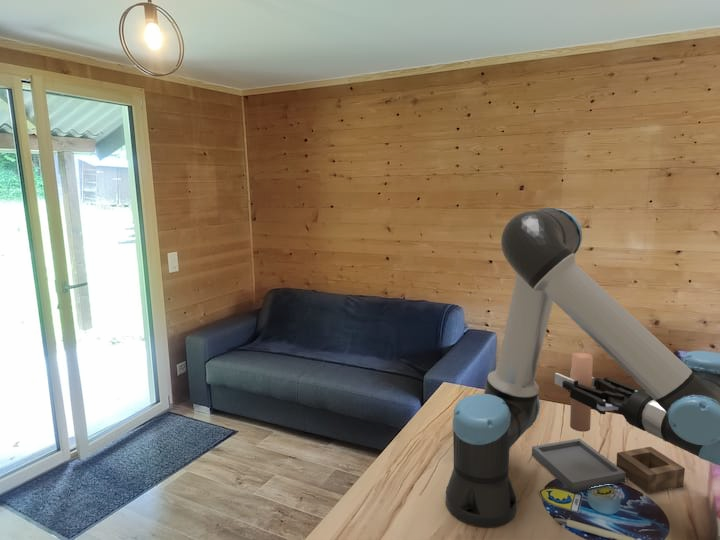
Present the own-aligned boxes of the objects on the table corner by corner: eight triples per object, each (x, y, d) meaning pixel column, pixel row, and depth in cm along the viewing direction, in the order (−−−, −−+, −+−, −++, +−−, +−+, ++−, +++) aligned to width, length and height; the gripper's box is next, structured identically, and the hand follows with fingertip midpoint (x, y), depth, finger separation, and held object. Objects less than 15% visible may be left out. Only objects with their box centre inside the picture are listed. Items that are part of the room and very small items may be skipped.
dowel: (578, 432, 113) (580, 359, 110) (566, 424, 117) (568, 353, 114) (594, 430, 114) (597, 357, 111) (581, 421, 118) (584, 351, 115)
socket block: (647, 493, 107) (649, 475, 107) (616, 469, 117) (617, 452, 116) (683, 486, 110) (684, 468, 109) (649, 463, 119) (650, 446, 118)
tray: (572, 492, 109) (572, 482, 108) (531, 455, 124) (532, 446, 124) (625, 482, 112) (625, 472, 111) (579, 447, 127) (579, 438, 127)
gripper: (621, 442, 95) (536, 397, 116) (680, 422, 101) (589, 383, 123) (623, 406, 94) (536, 368, 115) (682, 388, 100) (590, 355, 122)
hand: (563, 376), depth 119 cm, fingers closed on dowel, 4 cm apart
